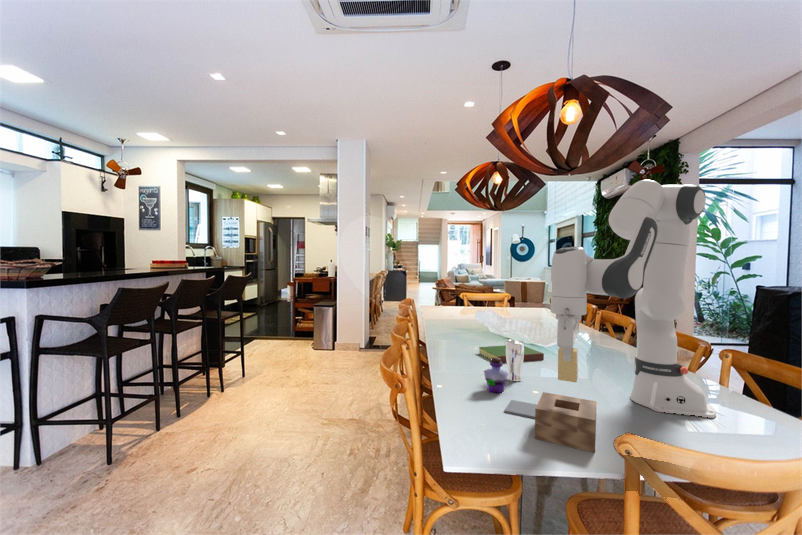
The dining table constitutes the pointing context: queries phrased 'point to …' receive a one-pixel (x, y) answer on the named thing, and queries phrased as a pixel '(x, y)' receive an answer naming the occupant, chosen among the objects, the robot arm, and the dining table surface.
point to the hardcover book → (501, 353)
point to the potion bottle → (496, 376)
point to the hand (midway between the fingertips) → (568, 358)
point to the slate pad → (521, 408)
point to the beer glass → (514, 359)
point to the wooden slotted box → (566, 421)
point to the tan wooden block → (568, 366)
